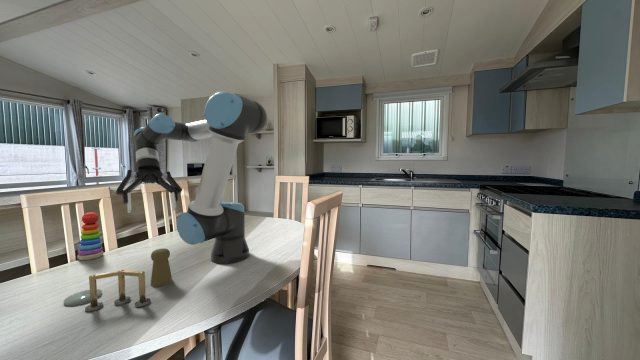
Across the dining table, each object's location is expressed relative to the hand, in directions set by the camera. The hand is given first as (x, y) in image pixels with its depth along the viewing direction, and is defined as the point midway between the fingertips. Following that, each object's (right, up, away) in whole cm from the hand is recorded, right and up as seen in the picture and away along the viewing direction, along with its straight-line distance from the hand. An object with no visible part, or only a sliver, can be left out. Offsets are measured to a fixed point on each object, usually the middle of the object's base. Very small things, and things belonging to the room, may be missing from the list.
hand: (153, 209), depth 89 cm
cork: (+8, -23, -8) cm, 26 cm away
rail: (+5, -24, -21) cm, 32 cm away
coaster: (-8, -23, -18) cm, 30 cm away
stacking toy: (-35, -21, +13) cm, 43 cm away
